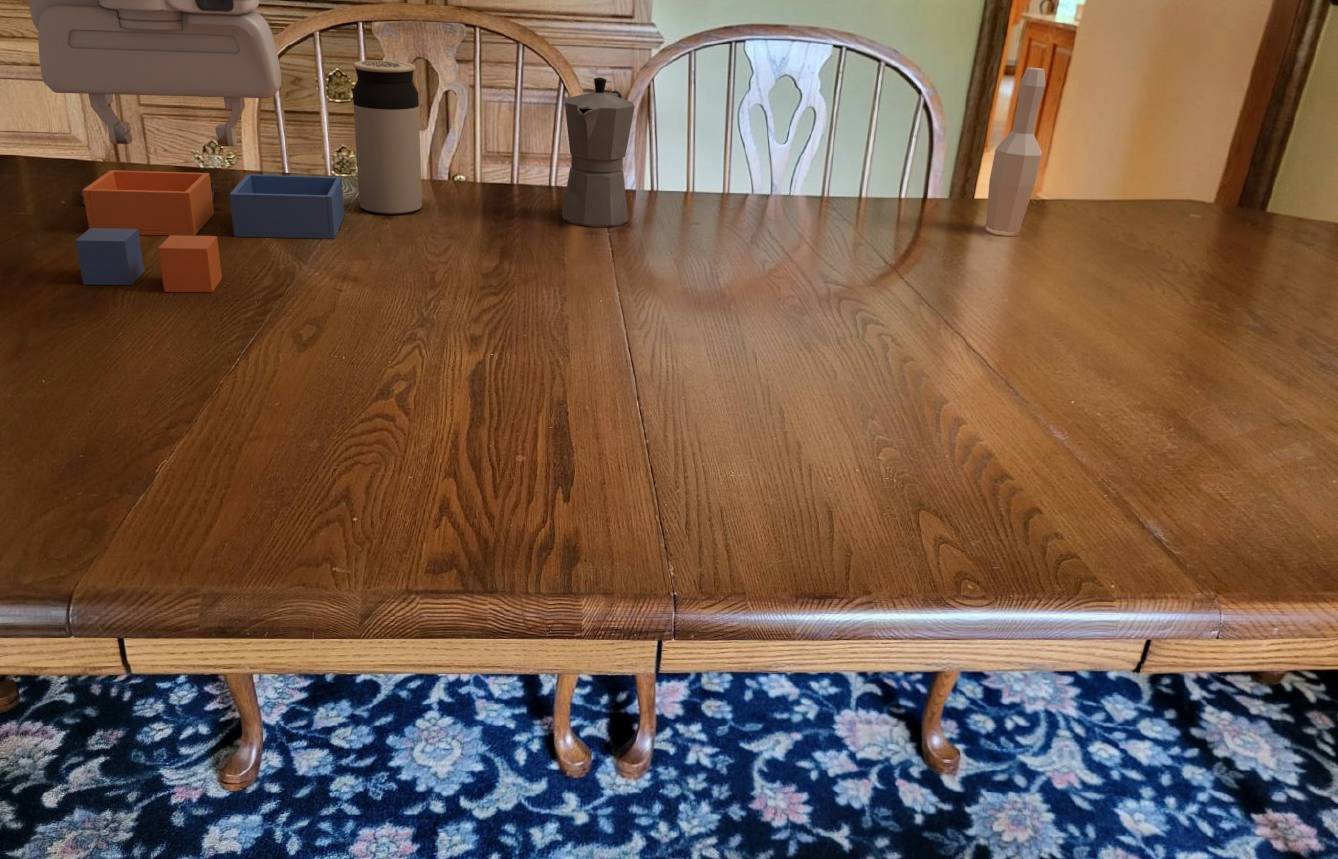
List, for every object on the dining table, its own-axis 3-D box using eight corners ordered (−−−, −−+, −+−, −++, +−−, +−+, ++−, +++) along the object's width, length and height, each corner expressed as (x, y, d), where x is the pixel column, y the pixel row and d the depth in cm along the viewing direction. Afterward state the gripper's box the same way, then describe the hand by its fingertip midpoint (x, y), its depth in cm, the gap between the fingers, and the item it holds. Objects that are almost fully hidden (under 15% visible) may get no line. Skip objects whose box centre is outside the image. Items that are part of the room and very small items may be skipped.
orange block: (164, 292, 104) (157, 247, 102) (175, 278, 108) (169, 234, 106) (212, 292, 104) (207, 248, 102) (222, 278, 108) (217, 235, 106)
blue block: (83, 284, 104) (75, 240, 102) (97, 270, 108) (90, 227, 106) (131, 285, 105) (124, 241, 103) (144, 271, 109) (138, 228, 107)
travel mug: (367, 217, 133) (359, 68, 126) (353, 202, 140) (344, 59, 132) (429, 213, 137) (425, 68, 129) (413, 199, 143) (407, 60, 135)
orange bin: (89, 233, 119) (82, 189, 117) (117, 211, 128) (110, 170, 126) (194, 236, 121) (189, 192, 119) (214, 213, 130) (209, 172, 128)
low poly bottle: (1030, 239, 146) (1067, 73, 136) (984, 236, 146) (1018, 69, 136) (1018, 227, 151) (1052, 67, 142) (974, 224, 151) (1005, 64, 142)
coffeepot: (614, 234, 133) (620, 87, 126) (544, 225, 135) (546, 79, 128) (646, 208, 147) (654, 74, 139) (582, 200, 149) (586, 67, 141)
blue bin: (234, 236, 122) (229, 193, 120) (250, 214, 131) (246, 174, 129) (334, 238, 124) (331, 196, 122) (344, 216, 133) (341, 176, 131)
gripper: (10, -17, 89) (44, 148, 95) (263, -6, 93) (280, 152, 99) (37, -22, 95) (68, 135, 101) (275, -12, 98) (291, 139, 104)
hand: (175, 144), depth 100 cm, fingers open, 8 cm apart
